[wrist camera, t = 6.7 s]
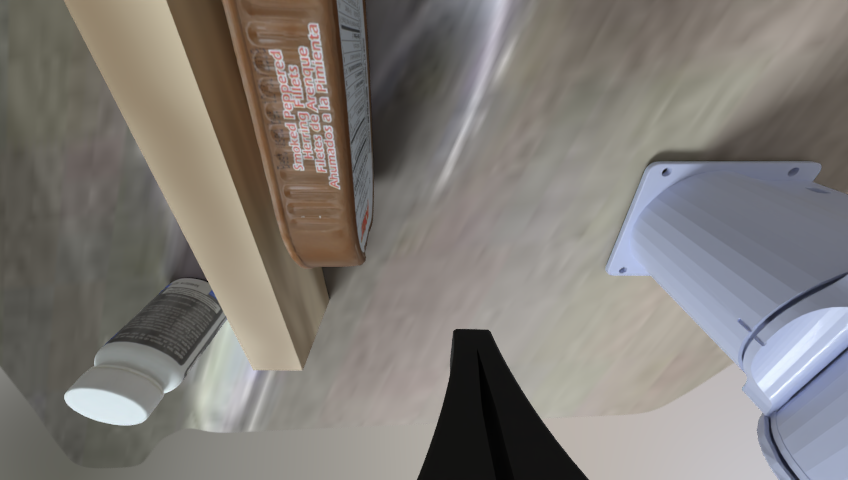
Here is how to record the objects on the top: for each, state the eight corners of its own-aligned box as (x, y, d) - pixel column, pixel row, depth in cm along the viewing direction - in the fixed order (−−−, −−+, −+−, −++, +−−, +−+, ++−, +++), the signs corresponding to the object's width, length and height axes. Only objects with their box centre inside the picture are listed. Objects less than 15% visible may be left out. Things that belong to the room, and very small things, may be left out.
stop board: (207, -211, 10) (0, -450, 5) (329, 300, 23) (302, 370, 18) (121, -210, 10) (-165, -445, 5) (290, 300, 23) (253, 370, 18)
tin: (289, -146, 11) (54, -471, 4) (374, -142, 11) (284, -453, 4) (336, 213, 19) (284, 310, 12) (385, 215, 19) (361, 313, 12)
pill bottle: (158, 273, 22) (33, 380, 15) (224, 278, 22) (131, 386, 15) (180, 318, 25) (82, 428, 18) (239, 322, 25) (165, 432, 18)
